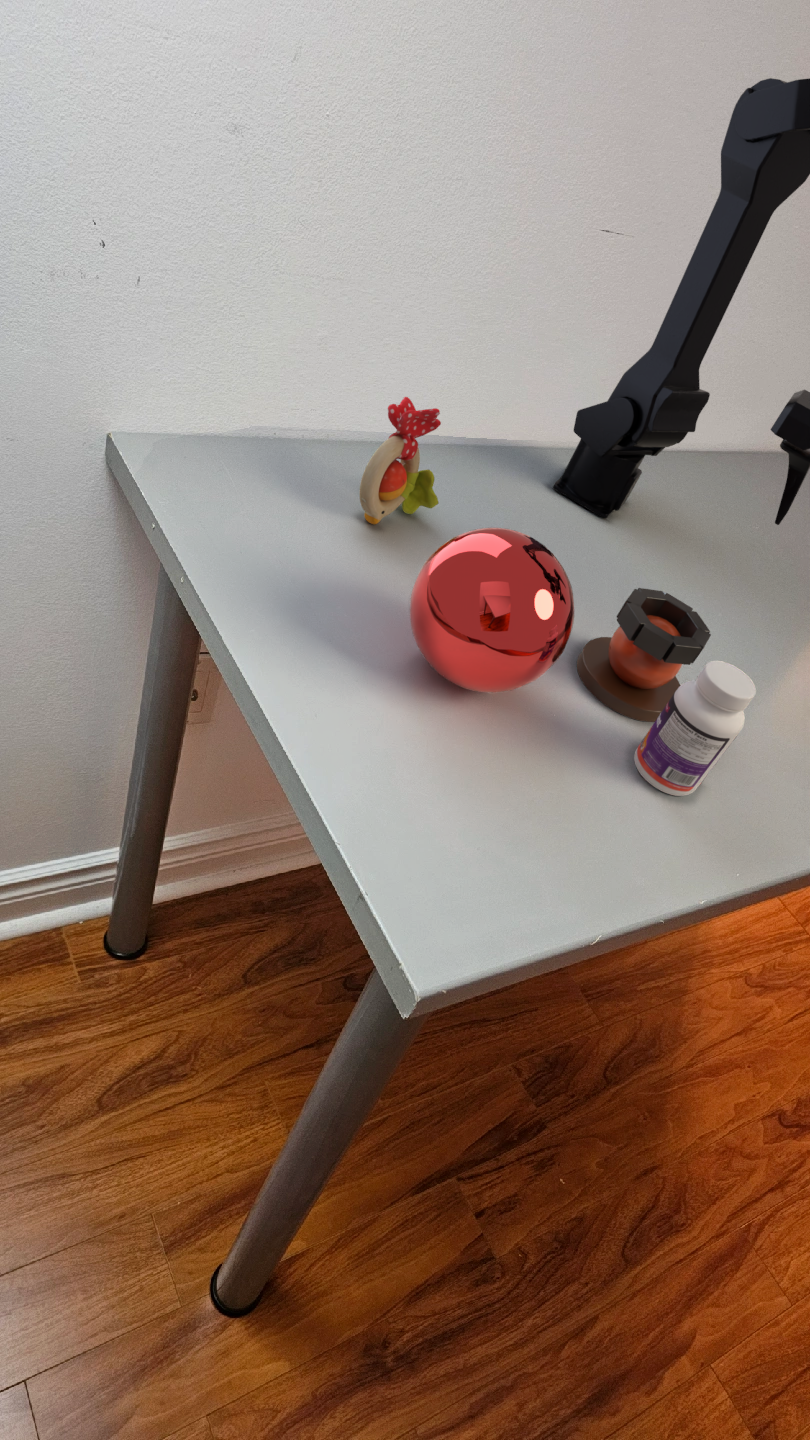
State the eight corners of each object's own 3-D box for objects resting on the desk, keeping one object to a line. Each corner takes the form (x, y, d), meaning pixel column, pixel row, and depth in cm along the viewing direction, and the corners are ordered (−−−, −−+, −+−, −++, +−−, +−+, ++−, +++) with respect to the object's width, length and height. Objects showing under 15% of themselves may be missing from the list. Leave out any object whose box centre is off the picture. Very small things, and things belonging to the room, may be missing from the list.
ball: (364, 618, 82) (418, 487, 74) (492, 620, 88) (553, 500, 80) (424, 729, 74) (489, 597, 67) (558, 723, 80) (633, 602, 73)
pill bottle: (656, 738, 84) (721, 646, 77) (708, 784, 81) (778, 694, 75) (618, 758, 80) (683, 663, 74) (671, 807, 78) (742, 713, 72)
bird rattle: (392, 559, 93) (449, 497, 97) (406, 474, 83) (468, 410, 87) (335, 523, 94) (394, 463, 98) (342, 435, 84) (407, 373, 88)
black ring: (607, 628, 82) (618, 610, 81) (632, 594, 87) (643, 577, 86) (685, 676, 81) (697, 659, 80) (706, 639, 86) (717, 622, 85)
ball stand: (561, 678, 85) (598, 616, 81) (596, 633, 92) (631, 574, 88) (658, 738, 84) (700, 679, 79) (686, 688, 90) (726, 630, 86)
